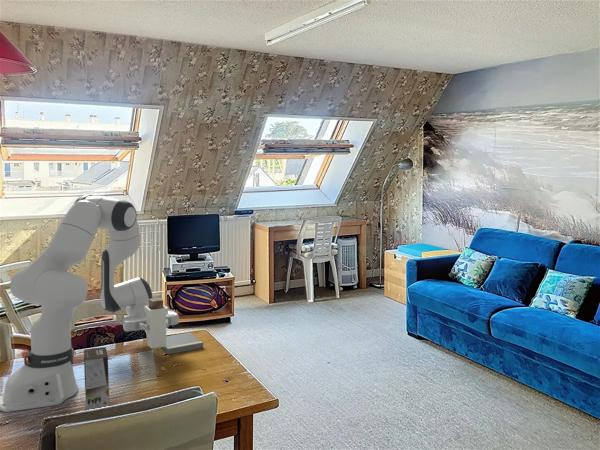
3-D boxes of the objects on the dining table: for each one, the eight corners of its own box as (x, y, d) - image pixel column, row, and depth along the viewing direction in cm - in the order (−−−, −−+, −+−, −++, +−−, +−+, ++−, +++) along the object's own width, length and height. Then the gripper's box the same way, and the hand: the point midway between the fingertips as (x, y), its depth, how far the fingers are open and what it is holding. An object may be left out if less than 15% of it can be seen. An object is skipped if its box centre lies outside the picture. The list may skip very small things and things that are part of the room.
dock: (167, 354, 195) (167, 348, 195) (156, 342, 207) (156, 337, 207) (203, 347, 203) (203, 342, 203) (190, 337, 215) (190, 332, 214)
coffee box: (110, 409, 152) (108, 357, 150) (86, 413, 149) (84, 360, 147) (107, 396, 160) (105, 346, 158) (85, 400, 157) (83, 349, 156)
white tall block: (150, 349, 185) (149, 310, 183) (144, 343, 190) (144, 306, 189) (168, 346, 188) (167, 308, 187) (162, 340, 194) (162, 303, 192)
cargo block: (152, 312, 185) (152, 301, 185) (148, 309, 188) (148, 298, 188) (163, 310, 187) (163, 300, 187) (159, 308, 191) (159, 297, 190)
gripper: (117, 312, 193) (127, 322, 182) (171, 305, 204) (183, 314, 193) (118, 329, 194) (127, 340, 183) (171, 321, 205) (183, 331, 194)
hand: (157, 326), depth 188 cm, fingers closed on white tall block, 5 cm apart
